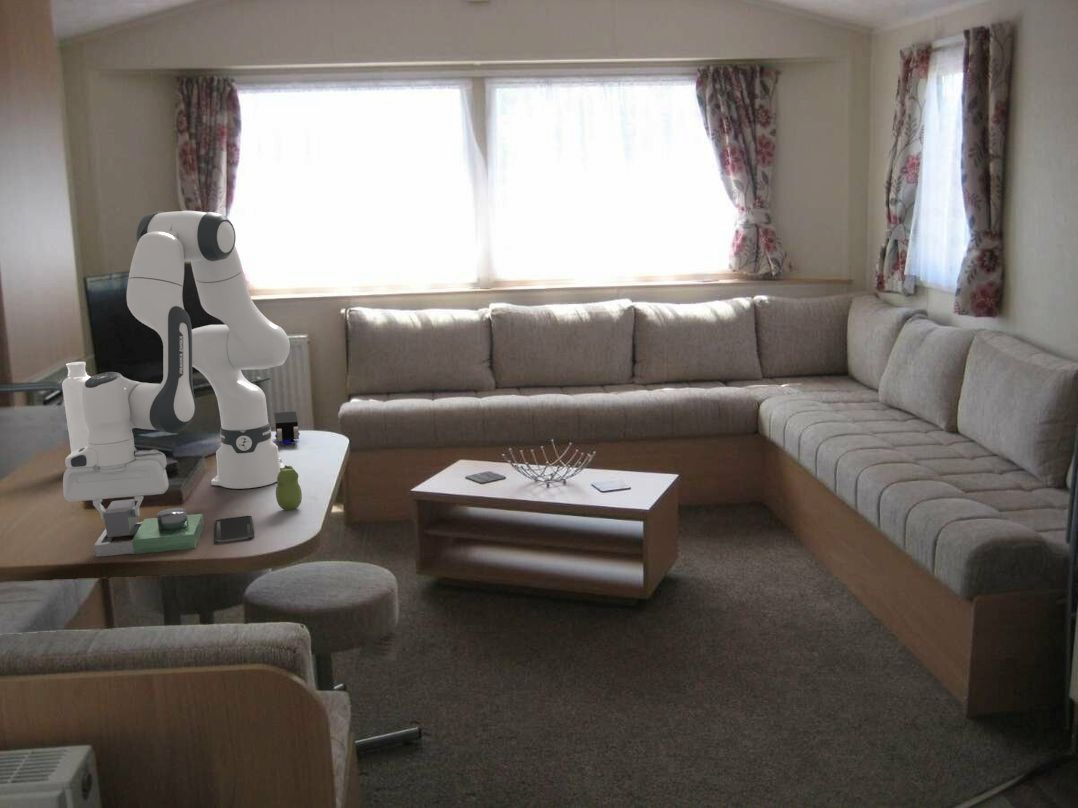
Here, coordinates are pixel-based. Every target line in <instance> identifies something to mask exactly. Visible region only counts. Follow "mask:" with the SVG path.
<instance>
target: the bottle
mask: <svg viewBox="0 0 1078 808" xmlns="http://www.w3.org/2000/svg"><path fill="white" fill-rule="evenodd" d="M65 366H66V368H67V377H66V378H65V379H64V380H63V381H62V383H61V388H62V395H63V403H64V410H65V416H66V424H67V429H68V430H67V431H68V439H69V445H70V452H71V453H72V452H74V451H76V450H78V449H81V448H84V447H86V446H88V443H87V437H88V428H87V425H86V423H85V420H84V413H83V402H82V393H83V386H84V383H85V382H86V380H88V379H89V378H90V377H91V376H90V375H88V372H87V371H86V361H73V362H68V363H65ZM71 453H70V454H71Z"/></svg>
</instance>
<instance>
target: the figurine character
mask: <svg viewBox="0 0 1078 808" xmlns="http://www.w3.org/2000/svg"><path fill="white" fill-rule="evenodd" d="M273 413H274V414H273V415H274V423H275V434H274V437H275V438H276V441H277V442H281V446H282V447H284V448H285V447H286V444H288V445H289V444H291V443H292V446H293V447H294V446H296V441H295V440H299V438H300V437H299V436H300V432H299V424H298V423H299V421H298V416H297V411H283V412H282V411H281V412H273Z"/></svg>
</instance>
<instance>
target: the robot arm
mask: <svg viewBox="0 0 1078 808" xmlns="http://www.w3.org/2000/svg"><path fill="white" fill-rule="evenodd" d="M135 236H136V237H135V238H136V239H135V240H136V242H137V245H136V247H135V249H134V253H133V256H132V260H131V262H130V269H129V274H128V279H127V280H128V281H127V285H126V286H127V287H126V304H127V308H128V310H129V311H130V313H131V314H132V316H134V318H135V319H136V320H138V322H141V324H144V325H145V326H147V327H148V328H150V329H152V330H154V331H155V332H156V333H157V334H158V335H159V337H160V338H161V341H162V346H163V349H162V351H163V353H162V354H163V358H162V359H163V360H162V361H163V363H162V364H163V367H162V368H163V371H162V373H163V377H162V381H161V382H160V383H154V382H153V383H149V382H140V381H136V380H132V379H129V378H127V377H125V376H123V375H122V374H121V373H120V372H115V371H107V372H106V371H105V372H102V373H98V374H95V375H93V376H90V378H89V379H88V380H86V382H85V383H84V386H83V393H82V402H83V413H84V420H85V423H86V425H87V428H88V437H87V443H88V446H86V447H84V448H81V449H78V450H76V451H74V452H72V453H70V454H68V456H66V457H65V460H64V463H65V467H66V470H65V471H64V473H63V477H62V478H63V479H62V490H63V498H64V499H65V500H66V501H68V502H69V503H71V502H72V503H74V502H83V501H85V502H86V501H92V506H94V508H95V509H96V510H97V511H98V512H99V515H100V520H102V521H103V520H104V521H105V518H104V513H105V511H106V510H107V508H105V507H104V505H102V502H103V500H108V499H119V498H131V497H132V498H133V499H134V500H135V502H136V503H135V507H131V509H130V512H131V517H137V518H138V517H140V514H141V513H140V512H141V511H140V506H141V505H142V503H143V500H144V496H154V495H163V494H165V493H166V492H167V490H168V488H169V484H170V483H169V478H168V474H167V470H166V468H167V466H168V465H167V464H168V463H167V457H166V455H165V453H164V452H162V451H160V450H158V449H150V450H147V449H146V450H136V447H135V439H134V433H133V429H135V428H137V429H141V430H152V431H153V430H154V431H158V432H163V433H169V434H178V433H180V432H183V431H184V430H185V429H186V428H187V427H188V426H189V425H190V424H191V423H192V422H193V419H194V417H195V414H196V409H197V407H196V397H195V394H194V386H193V385H194V384H193V368H194V369H195V370H197V371H199V372H200V373H201V374H202V376H204V378H205V379H206V380H207V381H208V383H209V384H210V386H211V387H212V389H213V391H214V393H215V396H216V400H217V405H218V411H219V416H220V417H219V418H220V425H221V426H220V428H219V437H220V442H221V446H220V447H218V449H217V450H216V451H215V455H216V458H215V459H216V469H217V470H216V472H217V473H216V474H217V475H216V476H214V477H213V478H212V479H211V481H210V484H211V486H218V487H219V486H220V487H223V488H226V489H227V488H228V489H237V490H238V489H240V490H241V489H251V488H252V489H253V488H258V487H259V488H260V487H265V486H268V485H272V484H274V483H276V482H277V476H278V473H279V472H280V468H284V466H285V464H284V462H283V461H282V458H281V457H280V454H279V453H280V452H279V447H278V445H277V444H276V443H275V442H274V441H273V439H272V428H271V427H272V426H271V424H270V422H269V419H268V410H267V399H266V395H265V392H264V391H263V390H262V388H261V387H260V386H258V385H256V384H255V383H252V382H250V381H249V380H248V379H247V378H246V377H245V376H244V374H243V372H242V370H243V371H244V370H245V371H247V370H248V371H250V370H266V369H271V368H276V367H279V366H282V365H283V364H285V362H286V360H287V358H289V357H288V356H289V355H290V348H291V344H290V343H291V342H290V339H289V337H288V336H289V335H288V334H287V332H286V331H285V330H284V328H282V327H281V326H280V325H277V324H275V323H274V322H273V321H271V320H270V319H268V318H267V317H266V316H265V315H264V314H263V313H262V312H261V311H260V310H259V308H258V307H257V306H256V304H255V303H254V301H253V299H252V297H251V294H250V291H249V288H248V285H247V282H246V278H245V274H244V270H243V266H242V263H241V262H242V261H241V258H240V255H239V253H238V249H237V247H236V231H235V228H234V225H233V223H232V222H231V221H230V219H229V218H228V217H227V216H226V215H224V214H221V213H218V212H213V211H209V212H204V211H198V210H197V211H196V210H182V211H181V210H180V211H177V210H176V211H166V212H164V211H154V212H151V213H148V214H146V215H144V216H143V217H142V219H140V222H139V223H138V225H137V227H136V232H135ZM188 262H190V266H191V270H192V274H193V279H194V282H195V286H196V289H197V294H198V299H199V302H200V306H201V307H202V309H203V310H204V311H205V312H206V313H207V314H209V315H210V316H212V317H214V318H216V319H217V320H220V321H221V322H222V323H223V324H208V325H203V326H200V327H195V328H193V327H192V323H191V317H190V315H189V313H188V311H186V310H185V307H184V301H183V300H184V299H183V288H184V280H185V263H188ZM192 328H193V329H192Z"/></svg>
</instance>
